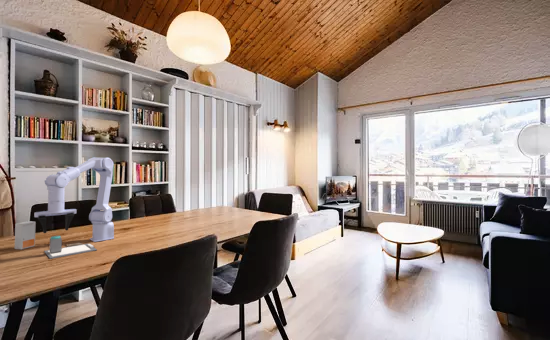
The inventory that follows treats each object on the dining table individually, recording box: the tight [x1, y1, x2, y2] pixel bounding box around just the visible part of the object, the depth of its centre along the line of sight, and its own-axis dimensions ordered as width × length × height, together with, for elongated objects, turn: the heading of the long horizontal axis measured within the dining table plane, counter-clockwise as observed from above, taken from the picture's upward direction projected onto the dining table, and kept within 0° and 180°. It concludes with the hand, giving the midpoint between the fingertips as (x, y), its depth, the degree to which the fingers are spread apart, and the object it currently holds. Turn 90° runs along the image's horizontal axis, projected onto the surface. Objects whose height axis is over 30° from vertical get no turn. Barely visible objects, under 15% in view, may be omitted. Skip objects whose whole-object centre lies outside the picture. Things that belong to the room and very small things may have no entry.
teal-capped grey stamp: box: [49, 235, 63, 254], centre depth 120 cm, size 4×4×7 cm
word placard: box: [65, 241, 83, 247], centre depth 133 cm, size 6×4×1 cm, turn 139°
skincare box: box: [14, 220, 37, 250], centre depth 127 cm, size 6×4×12 cm
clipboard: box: [43, 243, 98, 260], centre depth 124 cm, size 17×14×1 cm
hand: (55, 231), depth 120 cm, fingers open, 7 cm apart
